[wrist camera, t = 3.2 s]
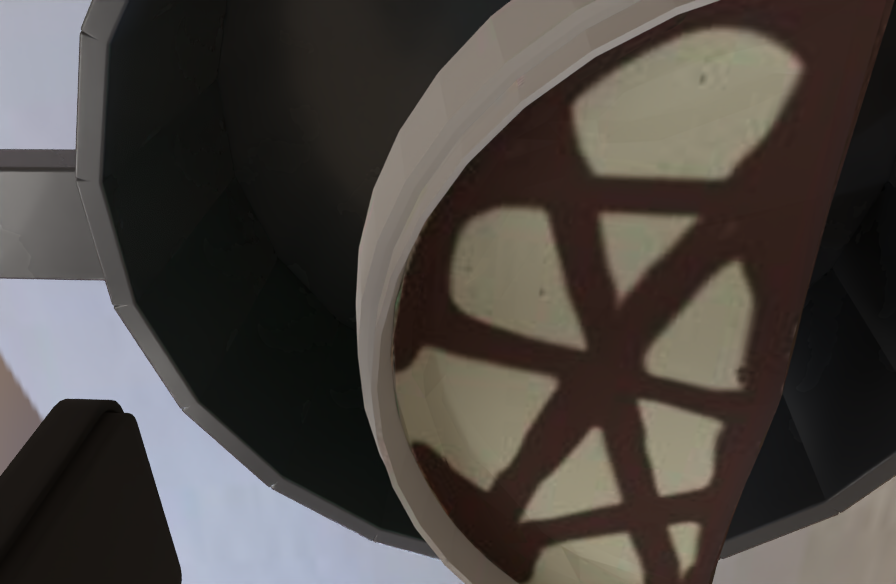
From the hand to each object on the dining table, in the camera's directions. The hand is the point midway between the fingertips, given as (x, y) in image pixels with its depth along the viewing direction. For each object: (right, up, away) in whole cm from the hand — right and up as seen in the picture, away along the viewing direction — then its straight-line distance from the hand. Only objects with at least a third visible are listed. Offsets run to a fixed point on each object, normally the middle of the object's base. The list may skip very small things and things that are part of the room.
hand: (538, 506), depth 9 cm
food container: (+1, +6, +10) cm, 12 cm away
